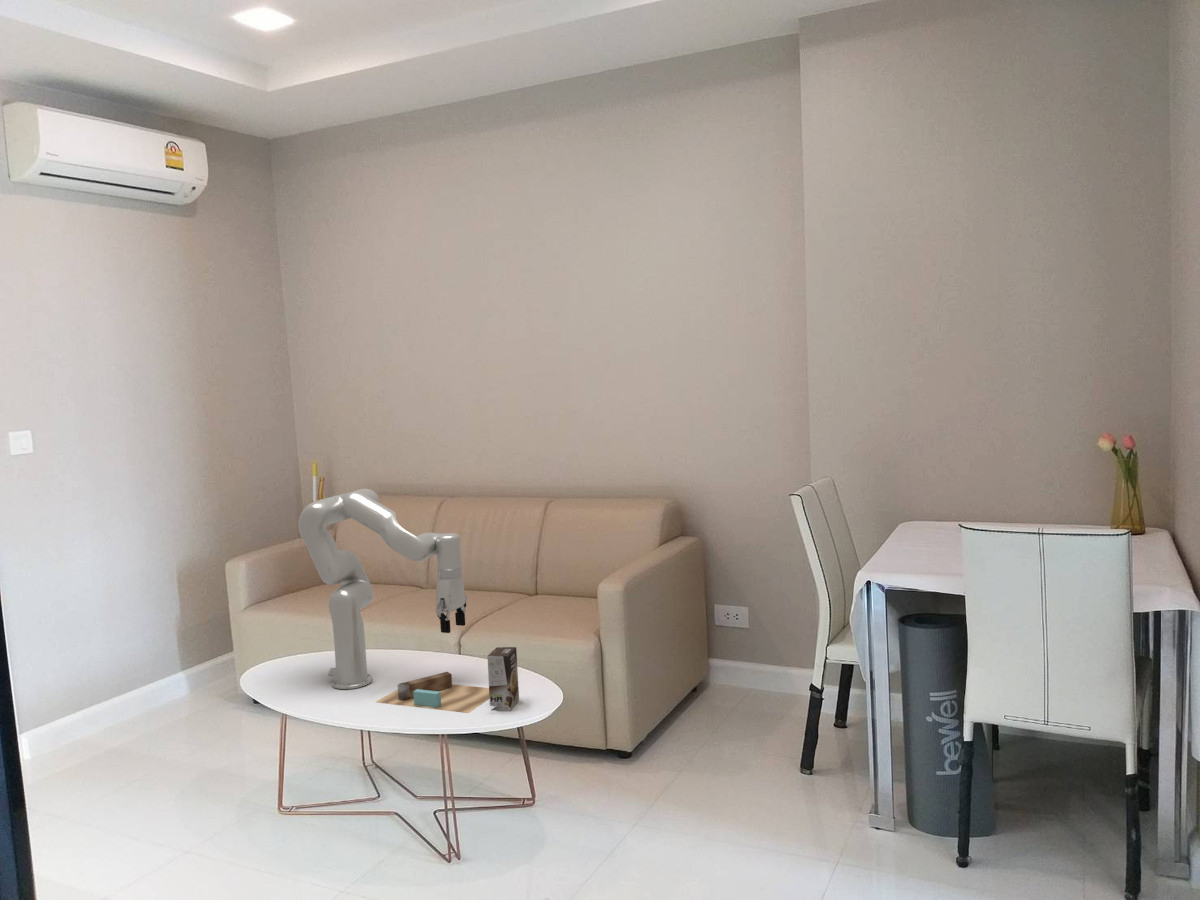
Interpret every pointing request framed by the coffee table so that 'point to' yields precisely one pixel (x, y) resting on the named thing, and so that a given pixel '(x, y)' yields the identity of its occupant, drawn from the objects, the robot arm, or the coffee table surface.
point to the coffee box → (503, 678)
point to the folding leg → (425, 685)
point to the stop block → (427, 698)
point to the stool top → (448, 698)
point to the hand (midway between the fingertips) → (453, 628)
